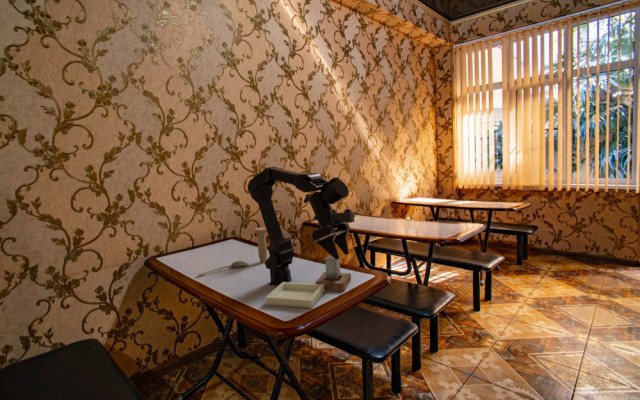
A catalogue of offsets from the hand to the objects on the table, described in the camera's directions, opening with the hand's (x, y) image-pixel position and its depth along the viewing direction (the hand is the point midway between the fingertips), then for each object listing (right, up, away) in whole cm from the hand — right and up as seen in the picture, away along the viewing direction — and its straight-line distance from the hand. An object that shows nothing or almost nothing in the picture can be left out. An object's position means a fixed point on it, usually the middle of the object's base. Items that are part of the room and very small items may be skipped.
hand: (342, 256), depth 104 cm
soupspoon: (-47, -13, +39) cm, 62 cm away
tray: (-15, -14, +6) cm, 21 cm away
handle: (-32, -10, +47) cm, 58 cm away
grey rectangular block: (-2, -12, +15) cm, 20 cm away
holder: (-2, -12, +15) cm, 20 cm away
